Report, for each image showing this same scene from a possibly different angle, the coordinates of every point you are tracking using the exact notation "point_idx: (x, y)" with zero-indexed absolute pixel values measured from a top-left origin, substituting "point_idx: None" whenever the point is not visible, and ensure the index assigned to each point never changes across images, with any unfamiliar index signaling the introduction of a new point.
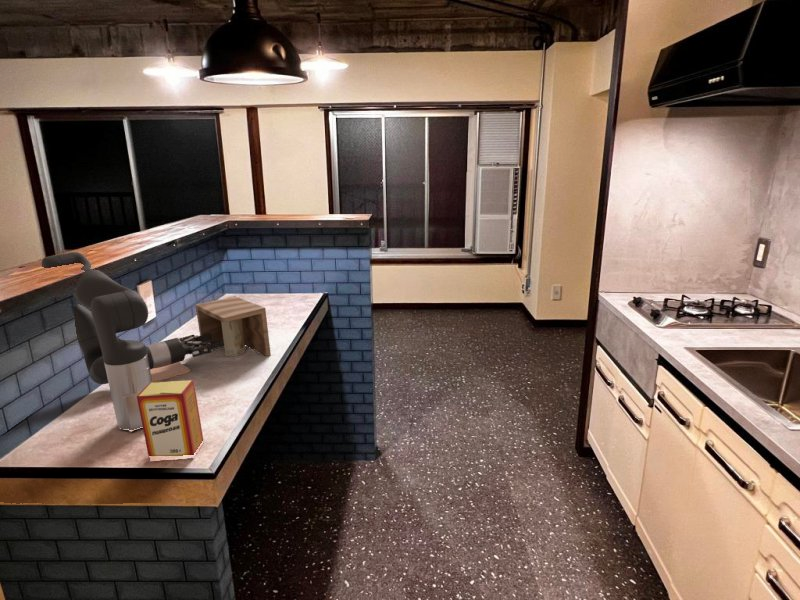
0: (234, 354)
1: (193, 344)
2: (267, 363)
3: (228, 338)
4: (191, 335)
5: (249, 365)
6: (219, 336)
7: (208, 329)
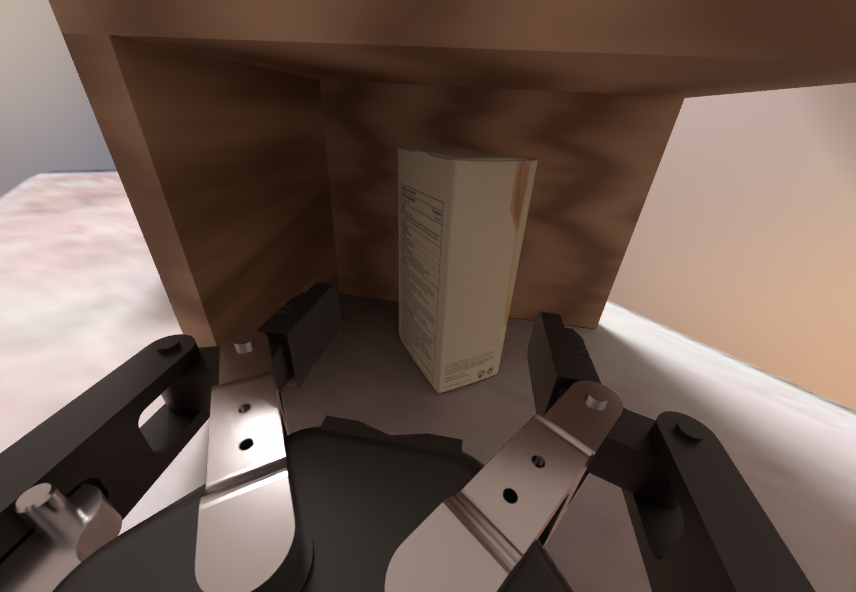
0: (491, 368)
1: (518, 568)
2: (686, 361)
3: (482, 288)
4: (154, 354)
5: (675, 409)
6: (290, 289)
7: (238, 257)
